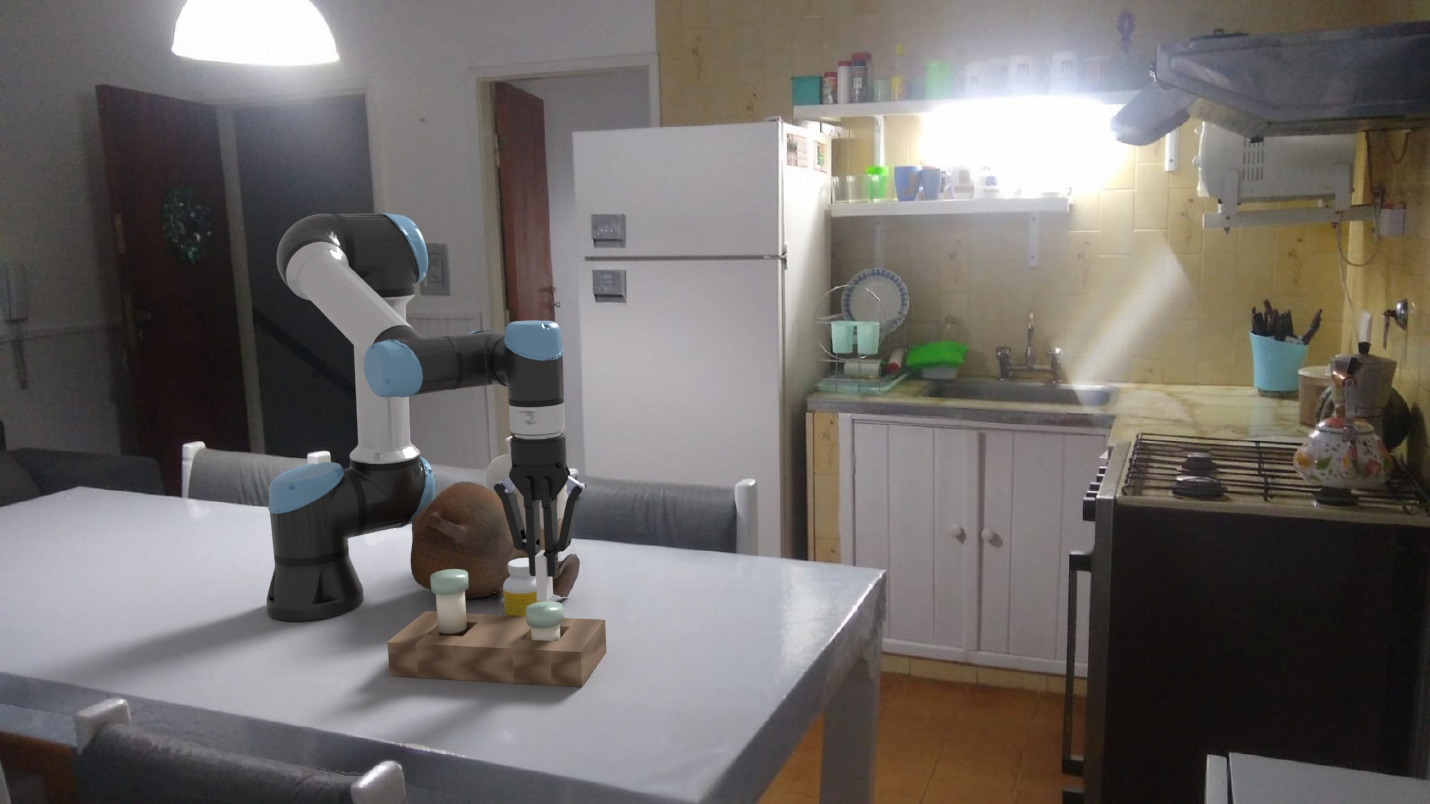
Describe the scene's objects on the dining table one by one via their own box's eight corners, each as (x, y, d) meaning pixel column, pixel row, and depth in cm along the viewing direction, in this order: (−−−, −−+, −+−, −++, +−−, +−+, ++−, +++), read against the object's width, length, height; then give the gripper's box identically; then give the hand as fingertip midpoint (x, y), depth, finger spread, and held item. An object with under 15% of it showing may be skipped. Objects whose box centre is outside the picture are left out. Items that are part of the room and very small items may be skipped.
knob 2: (523, 667, 146) (520, 613, 144) (535, 653, 151) (533, 600, 149) (558, 669, 145) (556, 614, 143) (570, 655, 150) (567, 601, 149)
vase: (563, 538, 211) (558, 427, 207) (578, 560, 196) (573, 441, 192) (483, 546, 206) (477, 433, 202) (493, 570, 191) (486, 448, 188)
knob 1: (427, 634, 147) (423, 580, 146) (443, 621, 152) (439, 568, 151) (462, 636, 146) (458, 581, 145) (476, 622, 152) (473, 569, 150)
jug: (385, 603, 176) (539, 650, 166) (375, 501, 168) (536, 545, 159) (455, 546, 194) (598, 586, 184) (449, 452, 186) (598, 488, 176)
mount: (389, 676, 146) (387, 642, 145) (427, 643, 157) (425, 611, 157) (582, 687, 141) (580, 652, 140) (606, 652, 152) (605, 619, 152)
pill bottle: (539, 644, 156) (535, 570, 154) (499, 642, 157) (494, 568, 155) (554, 628, 162) (551, 556, 160) (515, 626, 164) (511, 554, 162)
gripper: (482, 438, 140) (491, 605, 144) (575, 440, 138) (581, 609, 142) (502, 427, 148) (510, 586, 152) (591, 429, 146) (596, 590, 149)
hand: (545, 597), depth 147 cm, fingers closed
